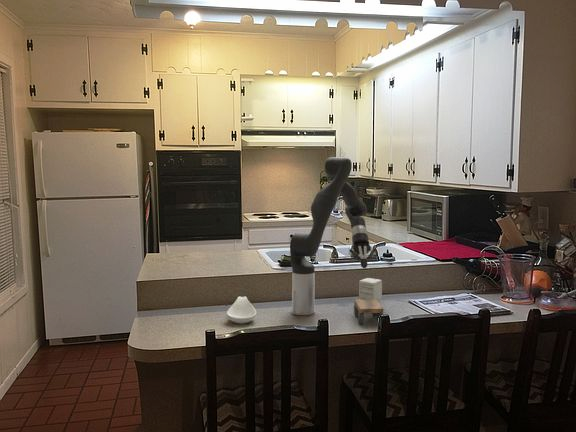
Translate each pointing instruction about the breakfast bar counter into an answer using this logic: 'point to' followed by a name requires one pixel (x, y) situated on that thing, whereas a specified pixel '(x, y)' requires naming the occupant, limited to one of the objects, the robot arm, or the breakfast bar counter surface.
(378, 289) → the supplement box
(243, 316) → the white conical piece
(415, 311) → the breakfast bar counter surface
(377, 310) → the brown block with legs
